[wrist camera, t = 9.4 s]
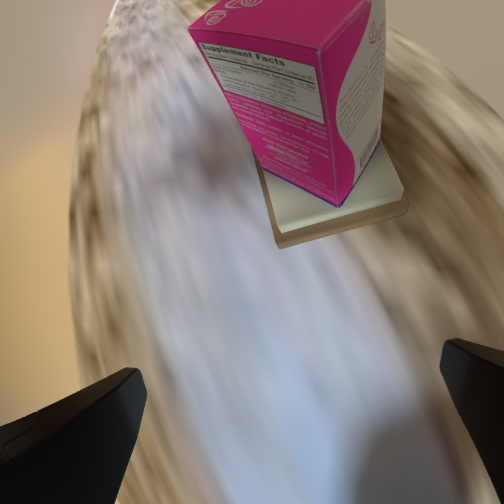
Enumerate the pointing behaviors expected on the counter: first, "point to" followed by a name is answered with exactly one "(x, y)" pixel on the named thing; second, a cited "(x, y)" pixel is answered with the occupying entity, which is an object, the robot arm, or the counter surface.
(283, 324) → the counter surface
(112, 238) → the counter surface
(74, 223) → the counter surface
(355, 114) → the supplement box
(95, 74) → the counter surface
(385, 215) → the pedestal
